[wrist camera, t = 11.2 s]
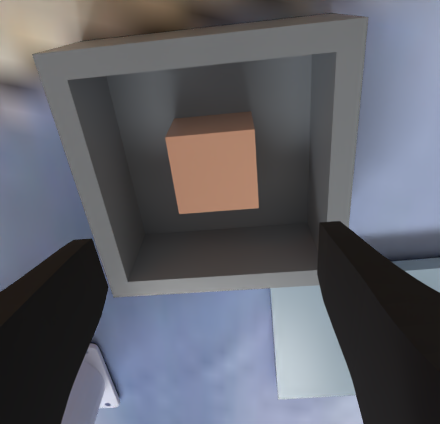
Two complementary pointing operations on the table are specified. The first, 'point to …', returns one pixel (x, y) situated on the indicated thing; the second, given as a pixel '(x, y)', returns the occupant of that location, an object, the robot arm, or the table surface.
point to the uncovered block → (213, 162)
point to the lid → (319, 337)
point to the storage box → (202, 106)
